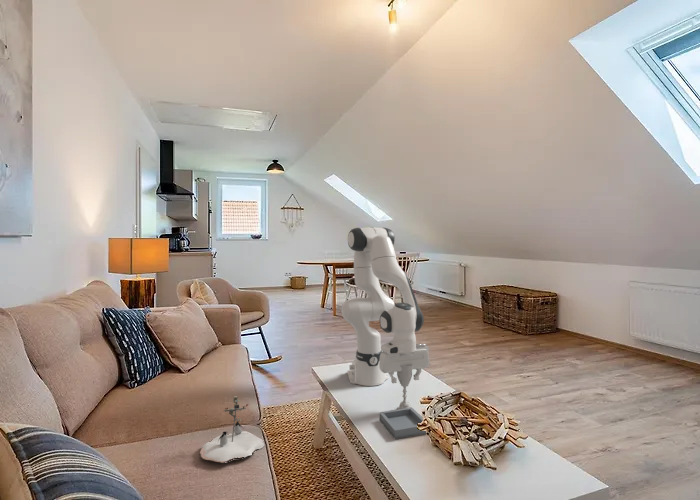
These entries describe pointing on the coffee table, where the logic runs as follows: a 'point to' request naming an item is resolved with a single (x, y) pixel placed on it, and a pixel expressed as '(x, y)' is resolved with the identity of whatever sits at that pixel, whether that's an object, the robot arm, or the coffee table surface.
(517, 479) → the coffee table surface
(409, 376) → the chalice
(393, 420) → the tray
